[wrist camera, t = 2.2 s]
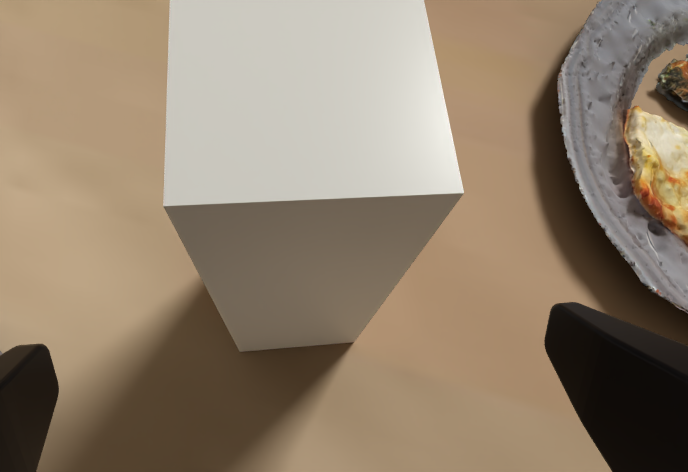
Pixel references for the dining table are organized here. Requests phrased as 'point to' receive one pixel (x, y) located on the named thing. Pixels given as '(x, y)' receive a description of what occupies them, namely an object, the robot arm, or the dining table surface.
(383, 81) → the block
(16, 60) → the dining table surface
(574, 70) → the food plate
